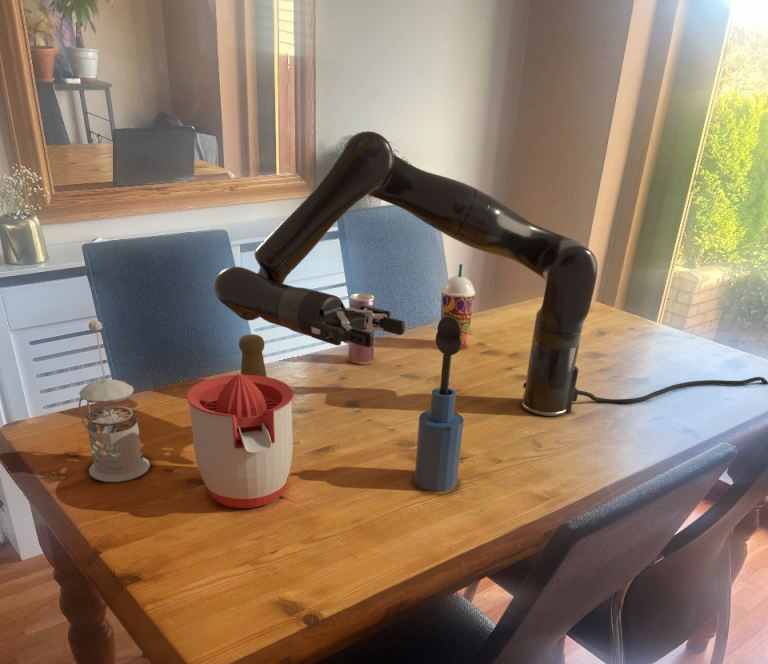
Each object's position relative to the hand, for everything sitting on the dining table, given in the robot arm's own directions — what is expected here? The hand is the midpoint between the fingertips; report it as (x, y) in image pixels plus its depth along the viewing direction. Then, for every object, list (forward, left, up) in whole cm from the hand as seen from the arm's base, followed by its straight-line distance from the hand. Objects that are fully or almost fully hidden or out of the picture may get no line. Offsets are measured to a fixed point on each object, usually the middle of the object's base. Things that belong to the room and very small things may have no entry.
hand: (388, 334), depth 114 cm
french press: (+45, -2, -23) cm, 51 cm away
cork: (+22, -37, -23) cm, 49 cm away
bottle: (-8, +8, -23) cm, 26 cm away
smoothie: (-28, -62, -23) cm, 72 cm away
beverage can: (-3, -52, -23) cm, 57 cm away
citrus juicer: (+23, +9, -23) cm, 34 cm away
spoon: (-8, +8, -23) cm, 25 cm away
